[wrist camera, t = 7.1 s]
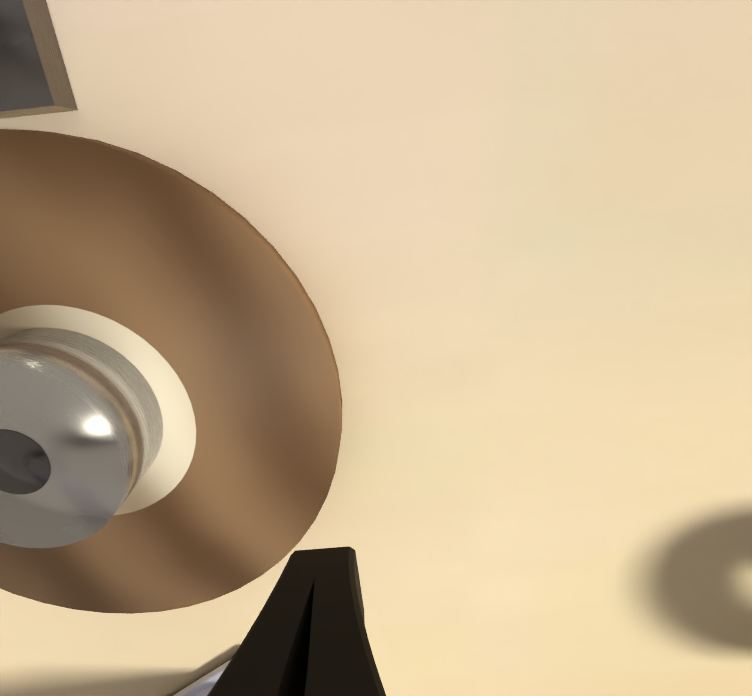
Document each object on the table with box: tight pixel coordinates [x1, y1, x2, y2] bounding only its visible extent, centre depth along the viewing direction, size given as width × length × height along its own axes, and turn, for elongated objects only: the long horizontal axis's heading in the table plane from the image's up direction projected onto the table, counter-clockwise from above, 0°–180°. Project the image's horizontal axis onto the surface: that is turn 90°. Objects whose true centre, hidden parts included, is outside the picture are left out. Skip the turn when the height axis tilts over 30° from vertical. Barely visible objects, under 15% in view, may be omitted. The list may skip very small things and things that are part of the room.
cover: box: [0, 327, 163, 548], centre depth 16 cm, size 7×7×3 cm
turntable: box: [0, 129, 342, 613], centre depth 18 cm, size 20×20×1 cm
